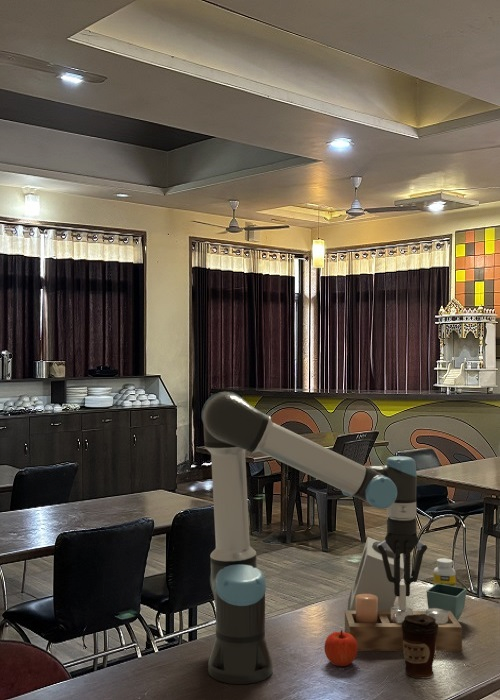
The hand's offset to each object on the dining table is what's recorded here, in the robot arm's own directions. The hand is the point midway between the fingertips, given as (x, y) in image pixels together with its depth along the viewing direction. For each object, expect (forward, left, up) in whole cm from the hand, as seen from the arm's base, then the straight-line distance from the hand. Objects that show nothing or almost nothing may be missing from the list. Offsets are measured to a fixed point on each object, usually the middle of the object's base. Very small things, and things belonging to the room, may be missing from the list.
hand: (402, 608), depth 203 cm
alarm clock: (-4, +22, -9) cm, 24 cm away
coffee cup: (+1, -20, -9) cm, 22 cm away
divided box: (0, 0, -9) cm, 9 cm away
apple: (-17, -14, -9) cm, 24 cm away
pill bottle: (+19, +35, -9) cm, 41 cm away
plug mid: (0, 0, -7) cm, 7 cm away
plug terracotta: (-9, 0, -4) cm, 10 cm away
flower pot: (+15, +15, -9) cm, 23 cm away
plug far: (+9, 0, -8) cm, 12 cm away
